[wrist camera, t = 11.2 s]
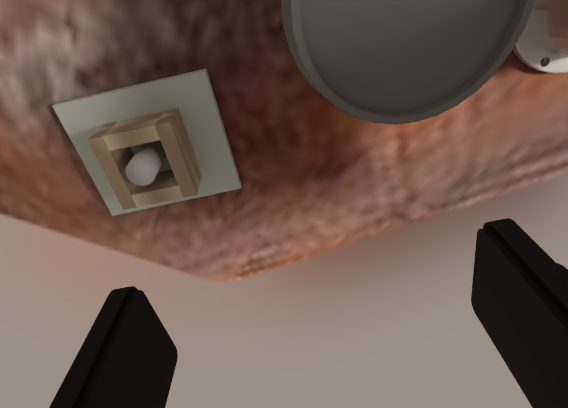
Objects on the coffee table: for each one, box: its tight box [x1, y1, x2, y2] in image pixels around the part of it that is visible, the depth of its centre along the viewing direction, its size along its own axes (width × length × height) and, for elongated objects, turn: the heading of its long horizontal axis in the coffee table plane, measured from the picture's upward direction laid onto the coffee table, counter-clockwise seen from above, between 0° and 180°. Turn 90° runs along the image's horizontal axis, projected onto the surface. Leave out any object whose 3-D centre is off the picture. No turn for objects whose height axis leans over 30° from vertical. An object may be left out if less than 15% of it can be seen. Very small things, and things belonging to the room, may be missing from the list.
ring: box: [88, 108, 202, 210], centre depth 33 cm, size 7×7×4 cm
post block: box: [52, 68, 241, 216], centre depth 33 cm, size 14×12×6 cm
